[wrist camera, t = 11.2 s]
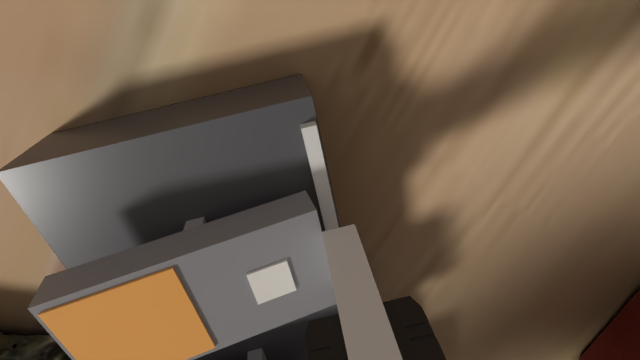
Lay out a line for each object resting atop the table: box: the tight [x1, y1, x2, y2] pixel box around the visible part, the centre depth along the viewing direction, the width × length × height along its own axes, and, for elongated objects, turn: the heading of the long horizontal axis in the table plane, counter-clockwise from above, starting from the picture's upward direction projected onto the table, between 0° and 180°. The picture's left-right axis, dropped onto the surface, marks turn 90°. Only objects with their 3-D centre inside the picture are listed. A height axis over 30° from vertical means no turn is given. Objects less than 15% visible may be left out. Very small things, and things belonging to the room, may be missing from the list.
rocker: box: [27, 190, 337, 360], centre depth 14 cm, size 5×10×2 cm, turn 101°
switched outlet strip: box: [0, 74, 340, 360], centre depth 22 cm, size 30×12×5 cm, turn 11°
